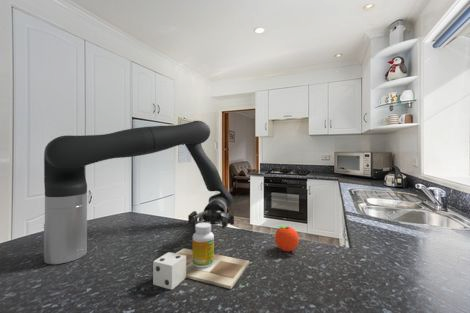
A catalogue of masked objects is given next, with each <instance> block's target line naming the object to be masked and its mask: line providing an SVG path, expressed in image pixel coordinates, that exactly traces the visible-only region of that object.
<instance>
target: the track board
mask: <svg viewBox="0 0 470 313" xmlns="http://www.w3.org/2000/svg"><path fill="white" fill-rule="evenodd" d="M192 252H193V249H189V248H184V247H183V248H182V249H180V250H178V251H177V252H174V253H175V254H180V255H185V256H186V278H187V279H191V280H194V281H199V282H201V283H206V284H210V285H213V286H218V287H220V288H221V287H222V288H225V289H230V290H231V289H233V287H234V286H235V284H236V283H237V281H238V280H239V279H240V277H241V276H242V274H244V272H245V270H246V269H247V268H248V266H249V264H250V260H247V259H241V258H236V257H232V256H231V257H230V256H226V255H222V254H221V255H220V254H215V253H214V263H213V264H212V265H211V266H209V267H206V268H198V267H195V266H194V265H193V263H192ZM186 278H185V279H186Z"/></svg>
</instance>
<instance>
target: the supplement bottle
mask: <svg viewBox="0 0 470 313" xmlns="http://www.w3.org/2000/svg"><path fill="white" fill-rule="evenodd" d="M194 229H195V232H194V233H193V235H192V250H193V252H192V263H193V265H194V266H195V267H198V268H206V267H209V266H211V265H212V264H213V263H214V254H215V235H214V232H212V224H209V223H199V224H196V225H195V228H194Z"/></svg>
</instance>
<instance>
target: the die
mask: <svg viewBox="0 0 470 313" xmlns="http://www.w3.org/2000/svg"><path fill="white" fill-rule="evenodd" d="M175 253H176V252H170V251H168V252H166V253H164V254H163V255H162V256H160V257H159V258H156V259H155V260H153V264H152V265H153V266H152V267H153V268H152V270H153V272H152V278H153V279H152V281H153V282H152V285H153V286H157V287H161V288H164V289H168V290H174V289H175V288H176V287H177V286H178V285H179V284H181V283H182V282H183V281H184V280H185V279H186V256H185V255H180V254H175Z"/></svg>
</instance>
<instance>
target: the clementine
mask: <svg viewBox="0 0 470 313" xmlns="http://www.w3.org/2000/svg"><path fill="white" fill-rule="evenodd" d="M277 228H279V229H278V230H276V229H277ZM274 230H276V233H275V235H274V241H275V244H276V246H277V247H278V248H279V249H280V250H282V251H283V252H284V251H285V252H291V251H294V250H295V249H296V248H297V247H298V246H299V242H300V239H299V235H298V232H297V231H296V230H295V229H294V228H293V227H290V226H284V225H283V226H282V225H280V226H277V227H275V228H274V229H273V230H272V232H274Z"/></svg>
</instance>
